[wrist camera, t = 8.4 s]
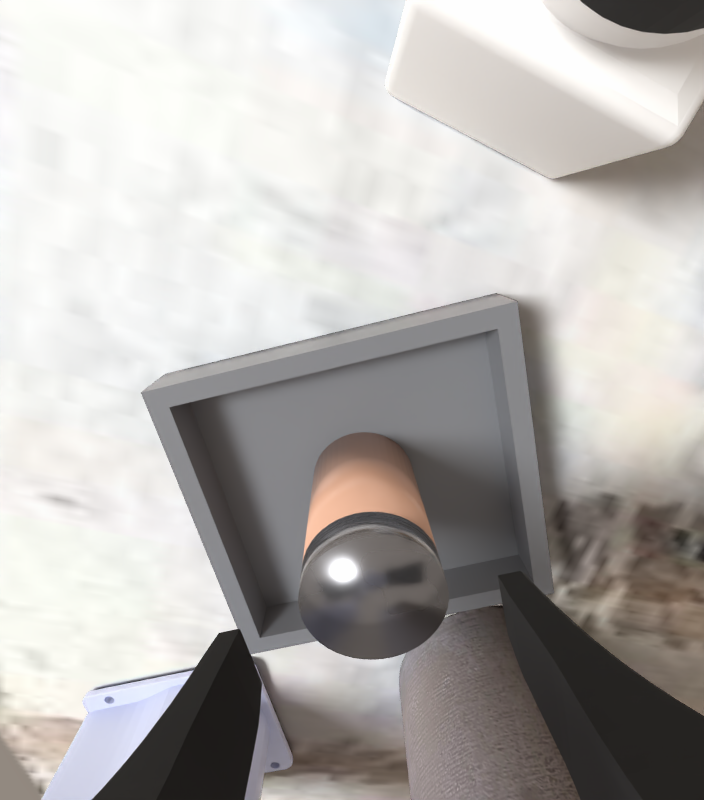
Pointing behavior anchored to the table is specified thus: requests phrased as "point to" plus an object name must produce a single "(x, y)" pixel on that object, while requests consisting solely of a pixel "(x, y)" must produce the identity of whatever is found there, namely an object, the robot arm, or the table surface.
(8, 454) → the table surface
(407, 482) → the salt shaker
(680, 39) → the medicine bottle
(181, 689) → the robot arm
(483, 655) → the pillar candle
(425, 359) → the tray
